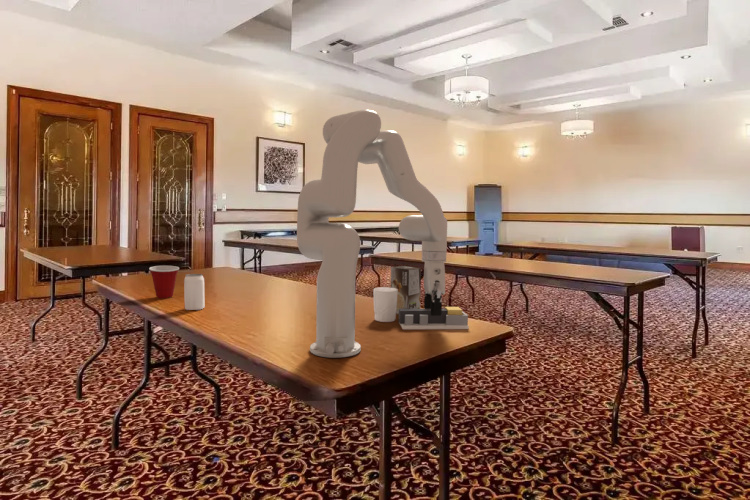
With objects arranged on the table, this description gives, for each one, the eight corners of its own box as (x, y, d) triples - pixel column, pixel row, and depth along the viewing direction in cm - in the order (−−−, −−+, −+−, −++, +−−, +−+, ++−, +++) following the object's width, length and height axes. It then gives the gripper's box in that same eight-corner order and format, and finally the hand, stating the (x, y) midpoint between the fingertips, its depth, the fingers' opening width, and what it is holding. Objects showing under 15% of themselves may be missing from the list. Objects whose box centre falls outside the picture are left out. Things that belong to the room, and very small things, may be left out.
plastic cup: (153, 301, 170) (153, 269, 170) (146, 296, 179) (145, 266, 178) (183, 297, 177) (183, 267, 177) (175, 293, 186) (174, 264, 185)
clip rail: (468, 329, 136) (468, 315, 136) (402, 329, 135) (403, 316, 134) (460, 321, 145) (460, 309, 145) (398, 322, 144) (398, 309, 143)
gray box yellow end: (400, 324, 137) (400, 309, 136) (398, 320, 141) (398, 306, 141) (461, 324, 138) (462, 309, 138) (457, 320, 143) (458, 306, 142)
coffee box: (421, 314, 155) (422, 268, 154) (408, 317, 151) (409, 269, 149) (402, 310, 162) (403, 265, 161) (389, 312, 158) (390, 266, 156)
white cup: (393, 323, 142) (393, 292, 141) (369, 321, 144) (369, 290, 143) (399, 318, 149) (400, 288, 148) (377, 316, 152) (377, 286, 151)
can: (185, 307, 160) (185, 273, 159) (205, 306, 162) (204, 273, 161) (183, 311, 154) (183, 276, 153) (204, 310, 156) (203, 275, 155)
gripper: (453, 259, 130) (451, 318, 131) (439, 254, 147) (438, 306, 149) (427, 259, 129) (426, 318, 131) (416, 254, 146) (415, 306, 148)
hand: (432, 311), depth 140 cm, fingers open, 9 cm apart
